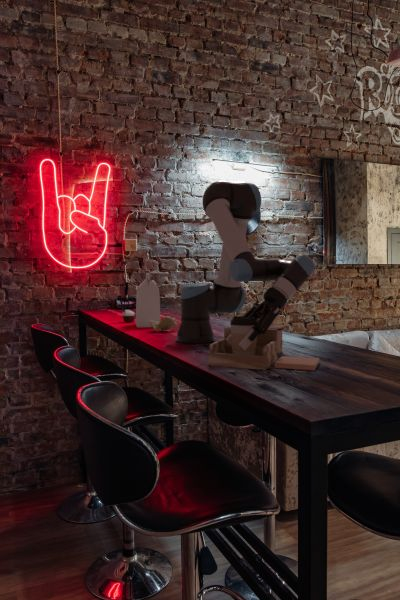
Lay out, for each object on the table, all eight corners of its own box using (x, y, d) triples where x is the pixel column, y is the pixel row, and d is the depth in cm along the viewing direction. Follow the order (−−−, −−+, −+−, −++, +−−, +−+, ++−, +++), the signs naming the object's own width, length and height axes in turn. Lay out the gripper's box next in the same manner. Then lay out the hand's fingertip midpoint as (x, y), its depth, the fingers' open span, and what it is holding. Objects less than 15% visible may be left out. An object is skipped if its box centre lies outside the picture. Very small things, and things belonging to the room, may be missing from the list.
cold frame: (224, 355, 184) (225, 327, 183) (276, 359, 178) (277, 329, 177) (208, 365, 167) (208, 334, 166) (265, 369, 161) (265, 336, 160)
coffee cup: (260, 360, 176) (260, 315, 174) (255, 365, 167) (255, 318, 166) (233, 359, 178) (233, 314, 177) (227, 364, 169) (227, 317, 168)
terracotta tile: (281, 360, 175) (281, 356, 175) (319, 362, 172) (319, 358, 171) (274, 367, 164) (274, 362, 164) (314, 370, 160) (314, 365, 160)
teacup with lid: (287, 353, 190) (287, 320, 189) (263, 354, 187) (263, 321, 186) (273, 347, 201) (273, 316, 200) (250, 348, 199) (250, 317, 198)
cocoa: (136, 322, 286) (136, 299, 286) (137, 322, 280) (137, 300, 279) (118, 321, 284) (118, 299, 283) (118, 322, 278) (119, 299, 277)
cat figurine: (148, 318, 247) (173, 310, 249) (152, 331, 250) (176, 323, 252) (151, 325, 240) (177, 317, 242) (155, 338, 243) (180, 330, 245)
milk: (135, 324, 272) (135, 273, 270) (158, 323, 274) (157, 273, 272) (137, 327, 260) (136, 273, 259) (160, 326, 263) (160, 273, 261)
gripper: (304, 304, 167) (258, 358, 162) (269, 299, 187) (228, 347, 182) (289, 287, 164) (242, 342, 160) (256, 284, 184) (213, 332, 180)
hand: (235, 345), depth 171 cm, fingers closed on coffee cup, 9 cm apart
